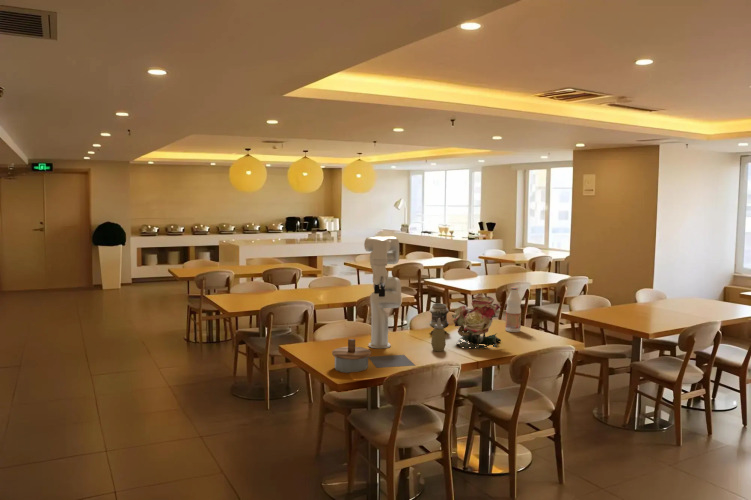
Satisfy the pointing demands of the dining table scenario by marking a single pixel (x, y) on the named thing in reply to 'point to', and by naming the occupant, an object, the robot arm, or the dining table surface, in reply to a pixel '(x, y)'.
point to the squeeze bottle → (438, 337)
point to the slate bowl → (351, 365)
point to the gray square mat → (391, 361)
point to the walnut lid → (351, 351)
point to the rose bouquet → (476, 322)
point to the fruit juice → (513, 311)
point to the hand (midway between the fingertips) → (379, 295)
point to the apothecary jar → (439, 315)
